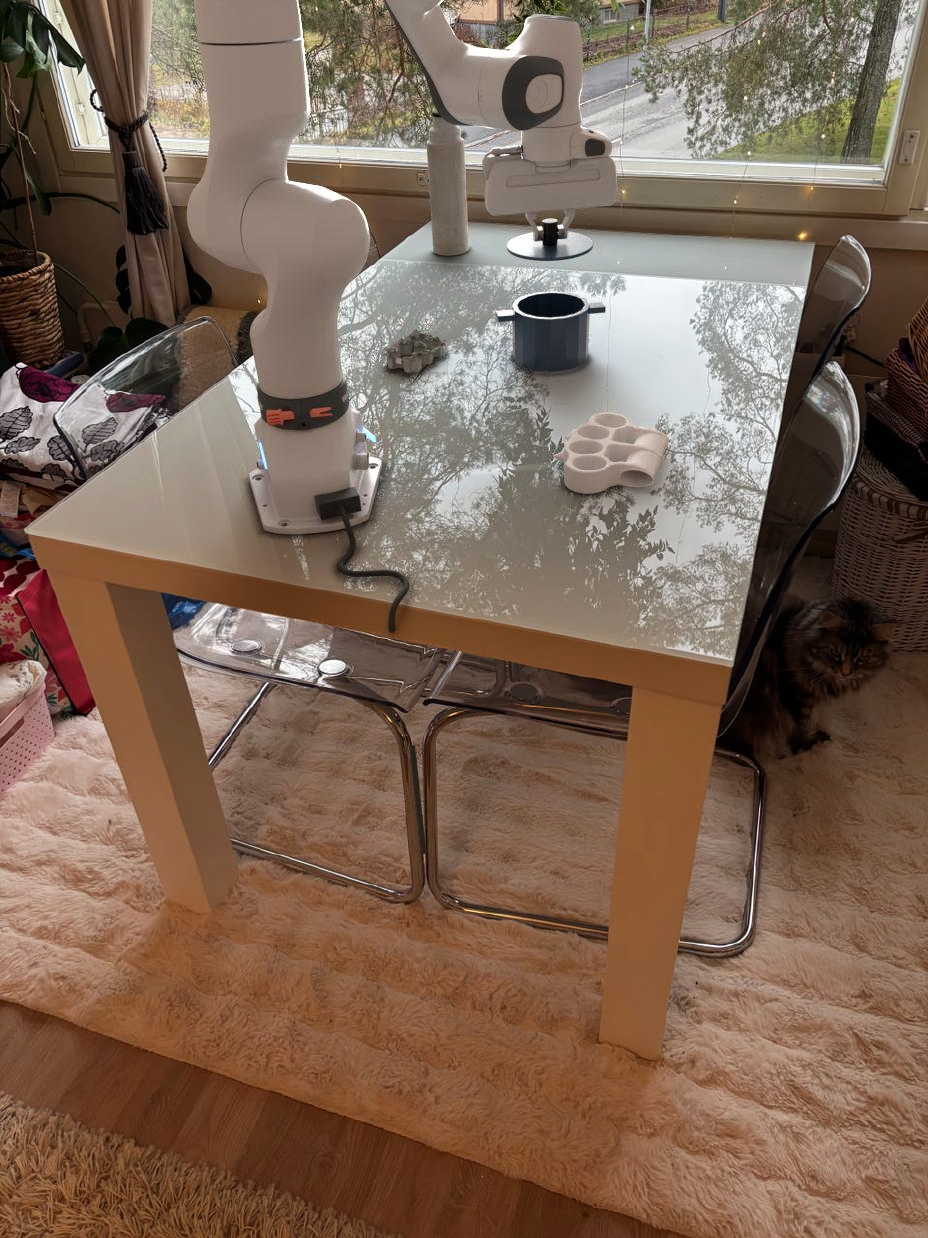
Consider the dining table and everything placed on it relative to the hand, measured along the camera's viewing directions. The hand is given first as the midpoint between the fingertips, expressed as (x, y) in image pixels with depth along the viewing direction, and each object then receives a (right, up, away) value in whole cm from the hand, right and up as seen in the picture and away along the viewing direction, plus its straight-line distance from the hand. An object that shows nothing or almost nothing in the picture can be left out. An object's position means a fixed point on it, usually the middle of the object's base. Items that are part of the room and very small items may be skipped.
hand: (550, 239), depth 147 cm
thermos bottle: (-17, +23, +62) cm, 68 cm away
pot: (+1, -15, +13) cm, 20 cm away
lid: (0, -1, +1) cm, 1 cm away
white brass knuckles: (+7, -38, -15) cm, 42 cm away
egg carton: (-22, -16, +15) cm, 31 cm away
